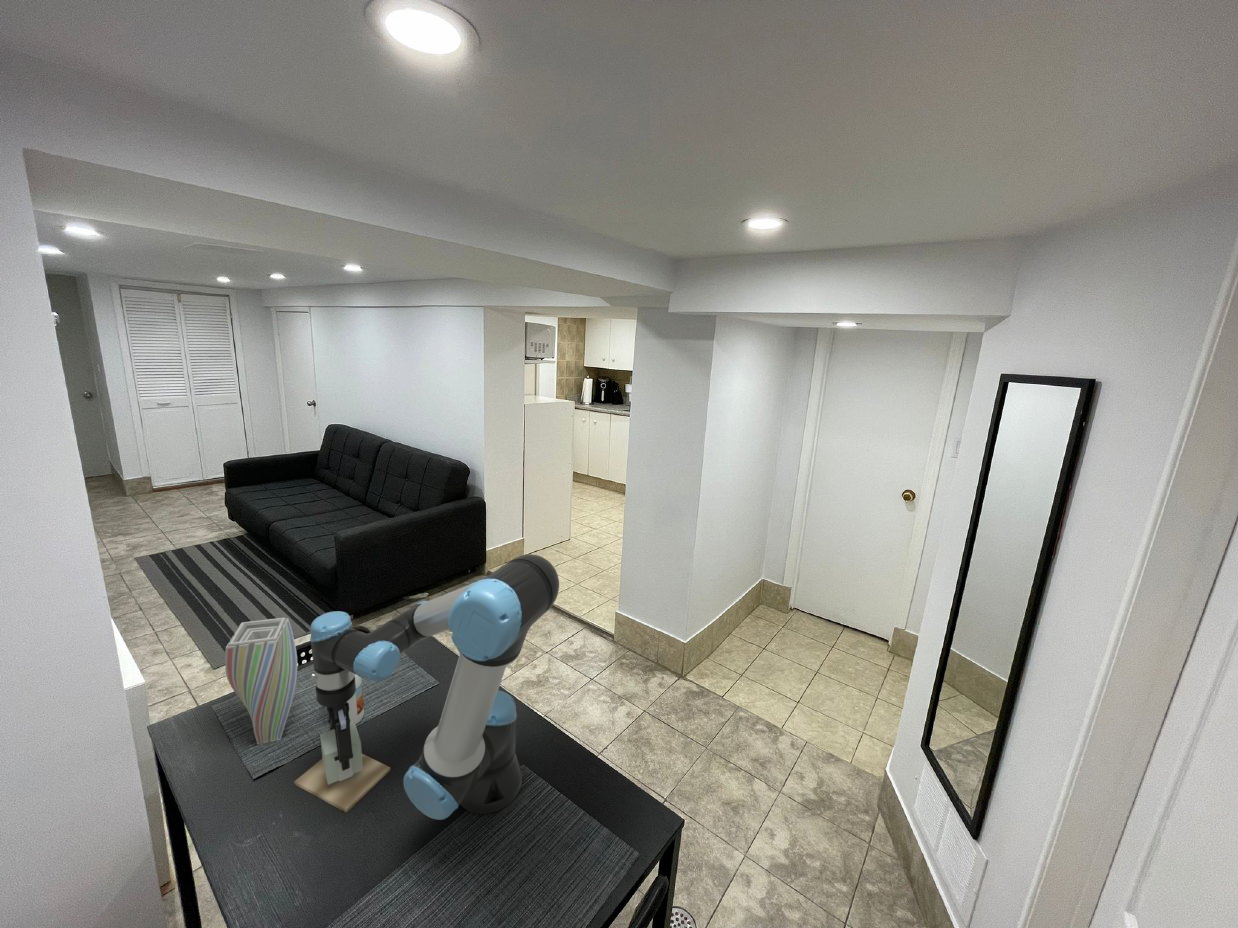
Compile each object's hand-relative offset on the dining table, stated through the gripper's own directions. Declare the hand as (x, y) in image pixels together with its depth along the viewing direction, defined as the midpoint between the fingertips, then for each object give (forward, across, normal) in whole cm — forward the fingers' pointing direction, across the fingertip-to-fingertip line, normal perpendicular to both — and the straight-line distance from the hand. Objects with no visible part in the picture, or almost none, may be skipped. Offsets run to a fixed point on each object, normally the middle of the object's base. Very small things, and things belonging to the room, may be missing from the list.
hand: (342, 765), depth 114 cm
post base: (+3, 0, 0) cm, 3 cm away
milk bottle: (+4, -19, +4) cm, 19 cm away
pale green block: (0, 0, 0) cm, 0 cm away
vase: (+4, -23, -12) cm, 26 cm away
